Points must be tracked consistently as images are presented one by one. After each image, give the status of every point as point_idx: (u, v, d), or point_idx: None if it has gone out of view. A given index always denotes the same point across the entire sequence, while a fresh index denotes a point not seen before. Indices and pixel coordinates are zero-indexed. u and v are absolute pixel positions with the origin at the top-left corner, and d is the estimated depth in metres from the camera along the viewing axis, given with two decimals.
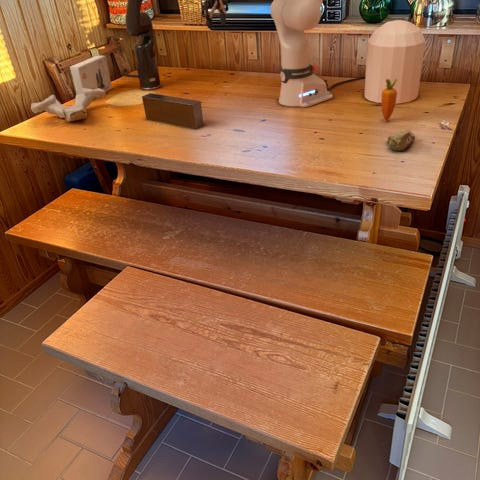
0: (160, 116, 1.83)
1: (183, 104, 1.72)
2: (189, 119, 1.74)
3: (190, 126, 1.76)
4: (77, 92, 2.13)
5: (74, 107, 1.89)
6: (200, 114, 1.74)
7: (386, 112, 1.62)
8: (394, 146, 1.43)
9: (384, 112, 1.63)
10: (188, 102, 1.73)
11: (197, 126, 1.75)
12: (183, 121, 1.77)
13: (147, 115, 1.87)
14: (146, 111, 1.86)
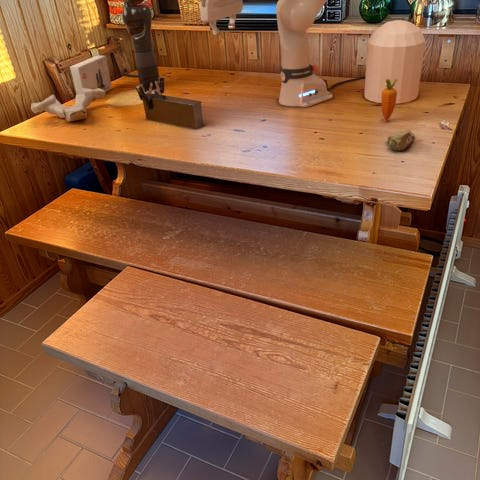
0: (160, 116, 1.83)
1: (183, 104, 1.72)
2: (189, 119, 1.74)
3: (190, 126, 1.76)
4: (77, 92, 2.13)
5: (74, 107, 1.89)
6: (200, 114, 1.74)
7: (386, 112, 1.62)
8: (394, 146, 1.43)
9: (384, 112, 1.63)
10: (188, 102, 1.73)
11: (197, 126, 1.75)
12: (183, 121, 1.77)
13: (147, 115, 1.87)
14: (146, 111, 1.86)
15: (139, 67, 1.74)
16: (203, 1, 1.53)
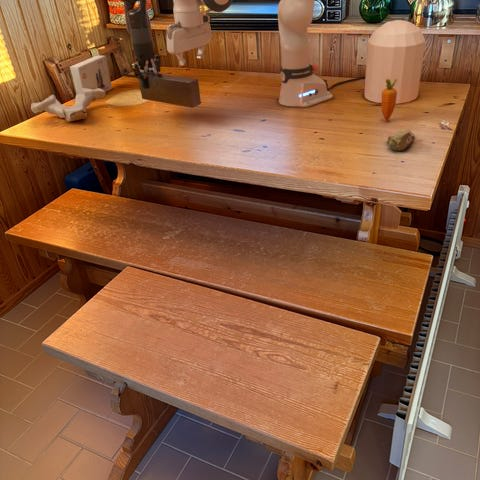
0: (156, 95, 1.78)
1: (180, 81, 1.68)
2: (186, 97, 1.70)
3: (187, 105, 1.71)
4: (77, 92, 2.13)
5: (74, 107, 1.89)
6: (197, 92, 1.70)
7: (386, 112, 1.62)
8: (394, 146, 1.43)
9: (384, 112, 1.63)
10: (185, 79, 1.68)
11: (194, 104, 1.70)
12: (179, 100, 1.72)
13: (143, 94, 1.82)
14: (142, 90, 1.81)
15: (134, 44, 1.69)
16: (169, 33, 1.53)
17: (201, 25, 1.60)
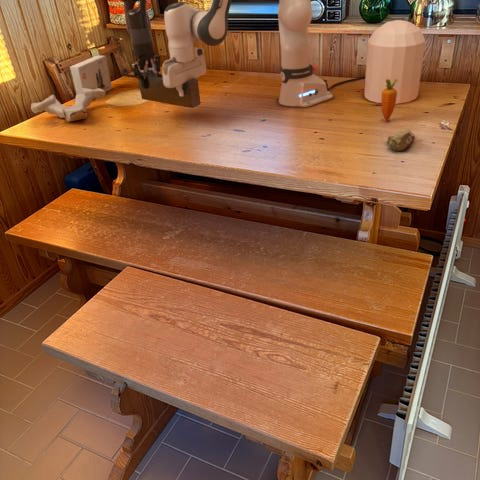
0: (155, 95, 1.78)
1: None
2: (185, 98, 1.70)
3: (187, 105, 1.71)
4: (77, 92, 2.13)
5: (74, 107, 1.89)
6: (197, 93, 1.70)
7: (386, 112, 1.62)
8: (394, 146, 1.43)
9: (384, 112, 1.63)
10: None
11: (193, 105, 1.70)
12: (179, 100, 1.72)
13: (143, 95, 1.82)
14: (142, 90, 1.81)
15: (134, 44, 1.69)
16: (165, 69, 1.58)
17: (196, 58, 1.66)
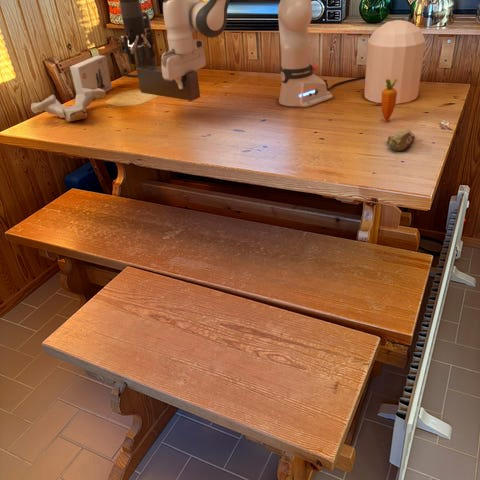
0: (155, 88, 1.77)
1: None
2: (185, 90, 1.68)
3: (186, 98, 1.70)
4: (77, 92, 2.13)
5: (74, 107, 1.89)
6: (196, 85, 1.68)
7: (386, 112, 1.62)
8: (394, 146, 1.43)
9: (384, 112, 1.63)
10: None
11: (193, 97, 1.69)
12: (178, 93, 1.71)
13: (142, 88, 1.81)
14: (141, 84, 1.80)
15: (124, 18, 1.66)
16: (164, 61, 1.57)
17: (195, 50, 1.64)
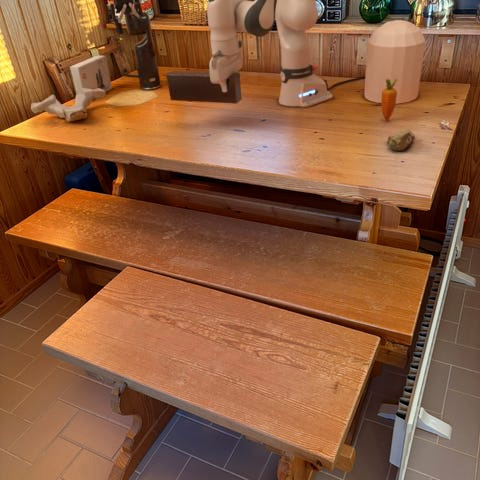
0: (189, 94, 1.67)
1: None
2: (228, 93, 1.61)
3: (229, 101, 1.63)
4: (77, 92, 2.13)
5: (74, 107, 1.89)
6: (239, 87, 1.62)
7: (386, 112, 1.62)
8: (394, 146, 1.43)
9: (384, 112, 1.63)
10: None
11: (237, 100, 1.62)
12: (220, 97, 1.63)
13: (172, 95, 1.70)
14: (172, 90, 1.69)
15: None
16: (213, 63, 1.49)
17: None
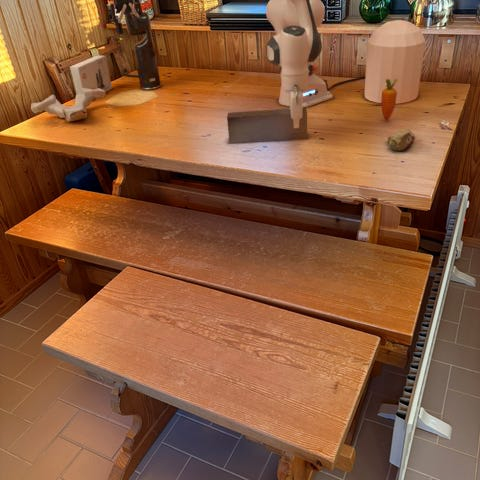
0: (253, 134, 1.59)
1: None
2: (298, 129, 1.57)
3: (299, 137, 1.58)
4: (77, 92, 2.13)
5: (74, 107, 1.89)
6: None
7: (386, 112, 1.62)
8: (394, 146, 1.43)
9: (384, 112, 1.63)
10: None
11: (306, 135, 1.59)
12: (288, 134, 1.58)
13: (232, 138, 1.60)
14: (232, 133, 1.59)
15: None
16: (297, 99, 1.43)
17: None
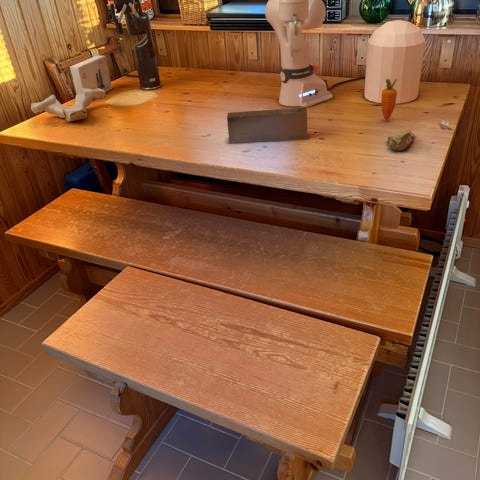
0: (253, 134, 1.59)
1: (293, 113, 1.54)
2: (298, 129, 1.57)
3: (299, 137, 1.58)
4: (77, 92, 2.13)
5: (74, 107, 1.89)
6: None
7: (386, 112, 1.62)
8: (394, 146, 1.43)
9: (384, 112, 1.63)
10: (295, 110, 1.55)
11: (306, 135, 1.59)
12: (288, 134, 1.58)
13: (232, 138, 1.60)
14: (232, 133, 1.59)
15: None
16: (296, 28, 1.32)
17: None
